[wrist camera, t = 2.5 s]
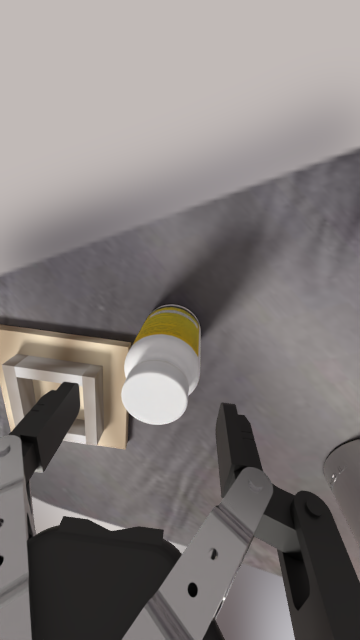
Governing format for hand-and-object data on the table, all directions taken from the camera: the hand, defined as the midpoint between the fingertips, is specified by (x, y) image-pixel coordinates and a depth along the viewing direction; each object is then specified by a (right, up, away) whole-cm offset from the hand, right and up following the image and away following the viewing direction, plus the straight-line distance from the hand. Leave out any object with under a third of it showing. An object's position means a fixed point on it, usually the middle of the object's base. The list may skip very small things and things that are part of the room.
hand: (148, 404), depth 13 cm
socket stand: (-11, -3, +13) cm, 17 cm away
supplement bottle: (+1, +4, +10) cm, 11 cm away
